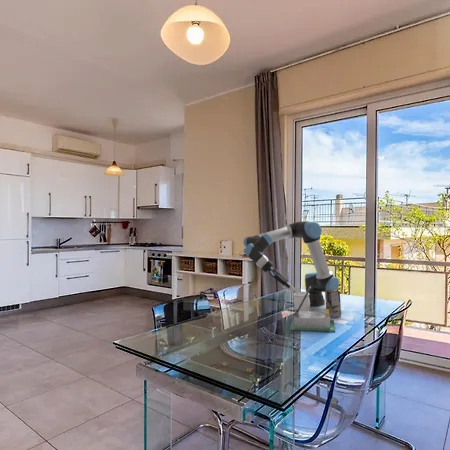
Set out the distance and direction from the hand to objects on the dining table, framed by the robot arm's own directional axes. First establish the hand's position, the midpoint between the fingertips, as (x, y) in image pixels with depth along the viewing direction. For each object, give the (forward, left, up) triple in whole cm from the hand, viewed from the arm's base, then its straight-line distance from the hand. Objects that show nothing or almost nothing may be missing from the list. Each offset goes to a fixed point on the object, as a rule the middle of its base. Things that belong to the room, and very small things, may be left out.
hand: (293, 290), depth 210 cm
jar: (-13, +17, -21) cm, 30 cm away
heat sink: (+7, +7, -21) cm, 23 cm away
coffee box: (-1, +33, -21) cm, 39 cm away
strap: (+4, +4, -6) cm, 8 cm away
